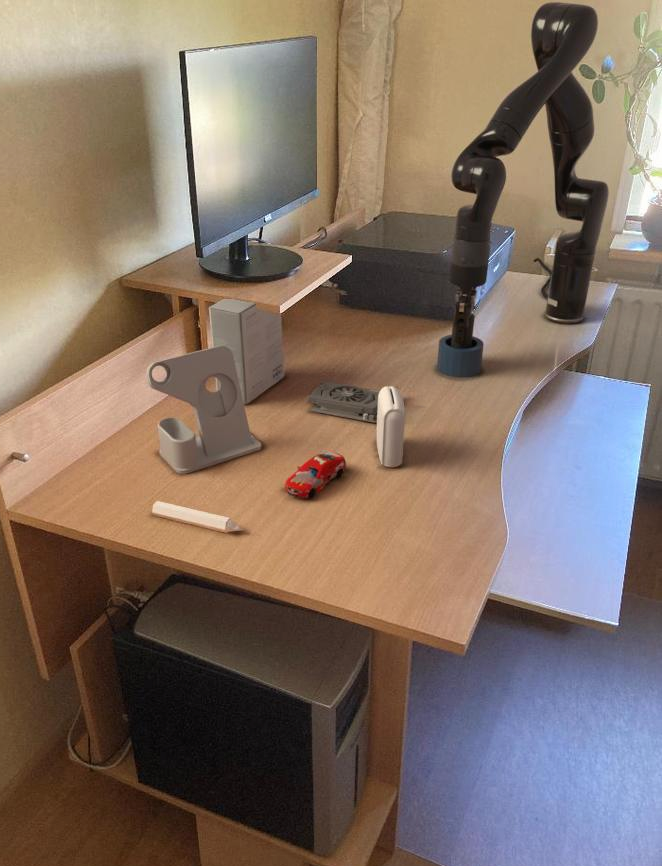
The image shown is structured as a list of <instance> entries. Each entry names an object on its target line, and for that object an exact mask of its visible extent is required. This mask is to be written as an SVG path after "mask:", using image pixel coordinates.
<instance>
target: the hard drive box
mask: <svg viewBox="0 0 662 866" xmlns="http://www.w3.org/2000/svg"><path fill="white" fill-rule="evenodd" d="M276 291H277V290H276ZM256 306H257V305H256V303H254V302H246V301H240V300H235V299H225V298H223V299H221V300H219V301H217V302H216V303H214V304H212V305H210V306H209V307H208V313H209V323H210V334H211V343H212V345H211V346H212V347H216V346H225V347H227V348H229V349H230V350H231V351H232V354H233V357H234V362H235V366H236V371H237V375H238V380H239V384H240V389H241V393H242V398H243V402H244V406H245V405H248V404H249V403H250V402H252V401H254V400H255V399H257V398H258V397H259V396H260V395H262V394H264V392H266V391H267V390H268V389H269V388H270V389H271V387H272V386H275V384H277V383H278V382H279V381H281V380H282V379H284V377H285V366H284V365H285V364H284V345H283V343H284V342H283V324H282V312H281V313H280V314H276V313H272V312H269V311H264V310H259V309H258V308H257V307H256ZM214 378H215V387H216V391H217V390H218V389H219V387H220V382H219V380H218V379H217V378H216V377H214Z"/></svg>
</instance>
